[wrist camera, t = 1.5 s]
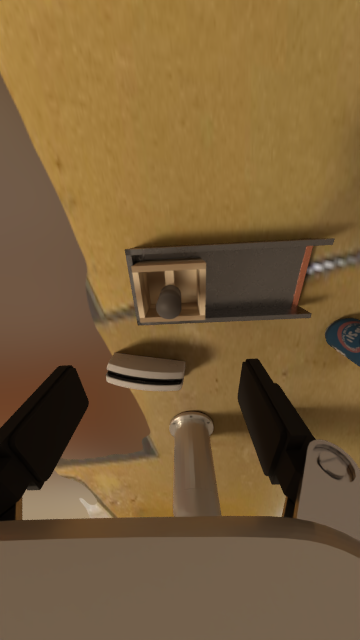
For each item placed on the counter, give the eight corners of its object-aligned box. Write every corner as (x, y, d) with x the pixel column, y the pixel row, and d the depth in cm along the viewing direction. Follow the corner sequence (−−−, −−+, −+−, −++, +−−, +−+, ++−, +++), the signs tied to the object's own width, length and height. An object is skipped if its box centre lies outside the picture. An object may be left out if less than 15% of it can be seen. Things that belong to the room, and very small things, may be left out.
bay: (292, 307, 34) (310, 317, 30) (143, 314, 35) (137, 325, 30) (310, 238, 29) (334, 238, 24) (133, 247, 29) (124, 249, 25)
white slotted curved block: (113, 369, 41) (95, 391, 31) (115, 350, 40) (98, 366, 31) (182, 377, 42) (186, 401, 32) (185, 359, 42) (190, 377, 32)
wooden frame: (200, 304, 33) (210, 336, 22) (148, 306, 33) (132, 340, 22) (200, 257, 29) (212, 268, 18) (141, 260, 29) (119, 273, 18)
